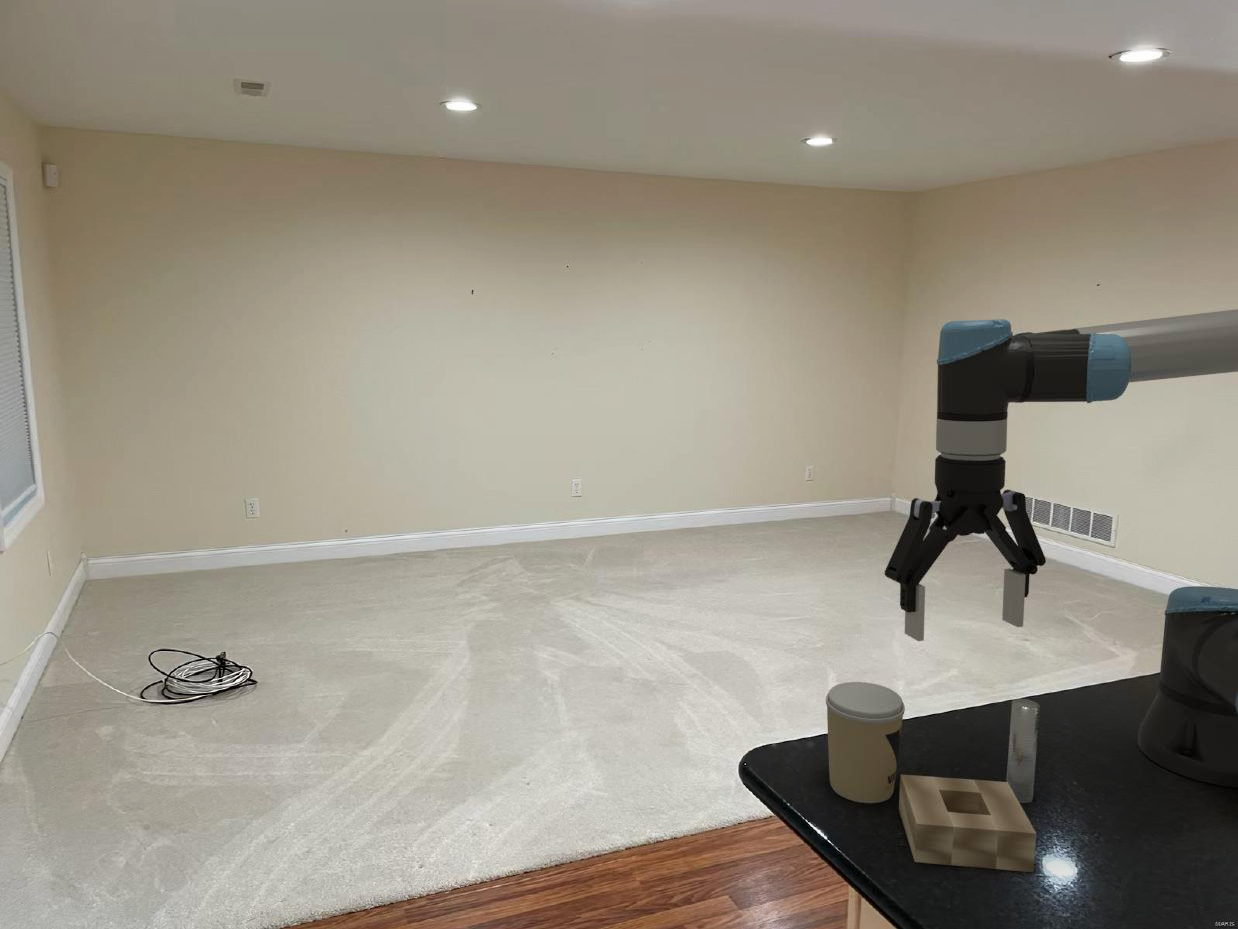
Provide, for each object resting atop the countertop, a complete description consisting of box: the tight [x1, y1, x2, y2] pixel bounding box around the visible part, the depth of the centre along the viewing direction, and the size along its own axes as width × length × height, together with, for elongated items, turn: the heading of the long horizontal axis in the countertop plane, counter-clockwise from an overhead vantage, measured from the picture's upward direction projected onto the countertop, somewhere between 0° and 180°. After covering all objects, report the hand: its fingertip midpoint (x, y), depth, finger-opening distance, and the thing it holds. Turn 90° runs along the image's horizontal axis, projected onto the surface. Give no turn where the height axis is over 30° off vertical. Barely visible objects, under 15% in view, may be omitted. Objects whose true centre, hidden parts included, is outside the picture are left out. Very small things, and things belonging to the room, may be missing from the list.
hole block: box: [898, 774, 1037, 873], centre depth 93 cm, size 12×10×4 cm
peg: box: [1005, 698, 1041, 804], centre depth 101 cm, size 3×3×12 cm
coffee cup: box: [825, 681, 906, 804], centre depth 103 cm, size 9×9×12 cm
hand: (964, 630), depth 99 cm, fingers open, 13 cm apart
